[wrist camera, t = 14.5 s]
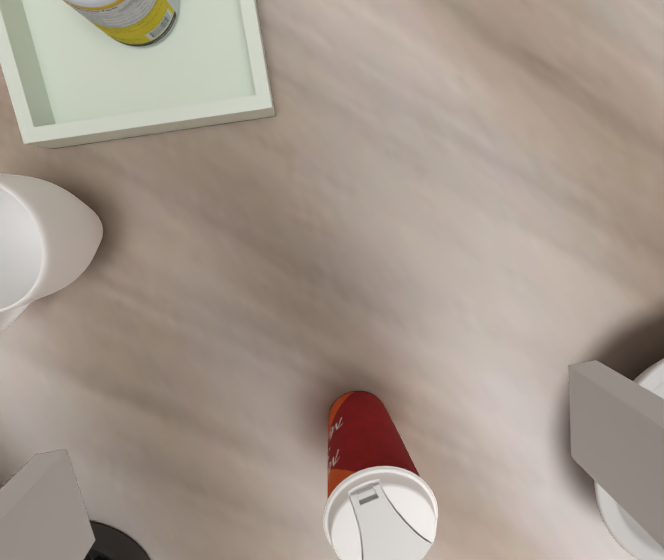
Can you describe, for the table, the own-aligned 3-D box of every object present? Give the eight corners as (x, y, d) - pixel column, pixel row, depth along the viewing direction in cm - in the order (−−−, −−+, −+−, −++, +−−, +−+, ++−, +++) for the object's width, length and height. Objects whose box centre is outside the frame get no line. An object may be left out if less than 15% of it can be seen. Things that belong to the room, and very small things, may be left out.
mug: (46, 159, 34) (-81, 142, 23) (144, 208, 35) (68, 215, 24) (-6, 288, 36) (-147, 331, 25) (89, 330, 37) (-5, 390, 26)
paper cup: (304, 399, 40) (304, 508, 26) (379, 367, 39) (419, 460, 26) (336, 466, 41) (352, 602, 28) (409, 436, 41) (461, 557, 27)
